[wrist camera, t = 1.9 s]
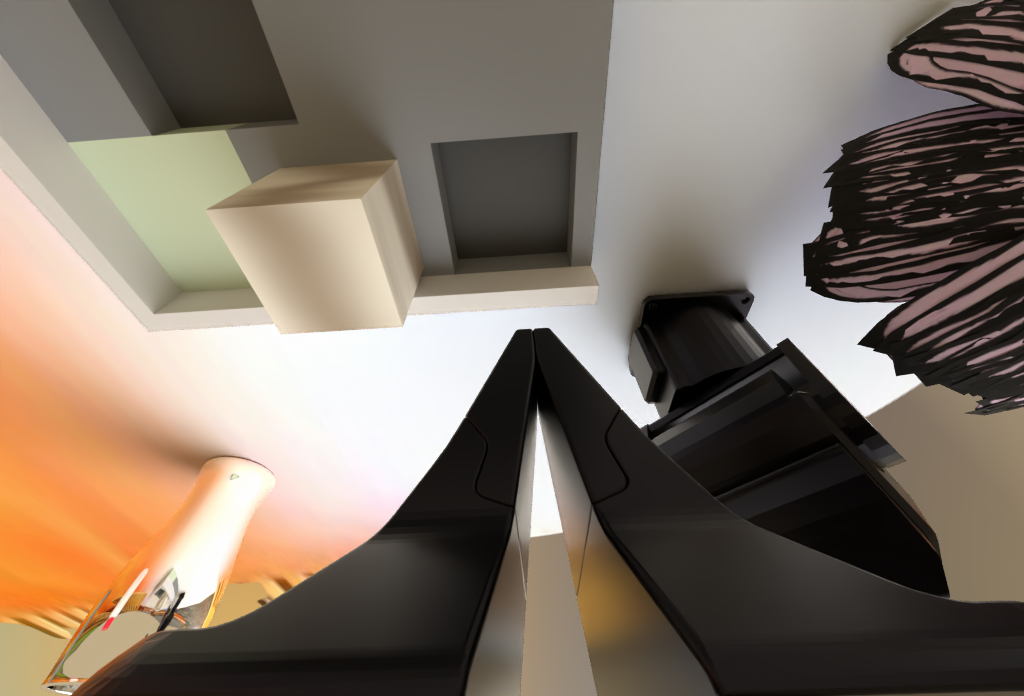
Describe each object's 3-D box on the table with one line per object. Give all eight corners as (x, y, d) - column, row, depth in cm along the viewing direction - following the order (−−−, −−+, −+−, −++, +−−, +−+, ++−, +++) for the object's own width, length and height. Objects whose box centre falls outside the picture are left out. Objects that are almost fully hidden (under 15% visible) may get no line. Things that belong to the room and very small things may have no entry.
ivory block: (397, 159, 15) (360, 198, 11) (424, 267, 18) (402, 326, 14) (280, 168, 15) (205, 209, 11) (327, 274, 18) (280, 334, 15)
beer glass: (264, 453, 32) (130, 682, 20) (291, 493, 36) (194, 699, 25) (183, 452, 32) (0, 684, 20) (220, 492, 36) (88, 700, 25)
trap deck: (619, -249, 10) (668, -375, 7) (583, 265, 21) (597, 303, 17) (-132, -169, 11) (-381, -252, 8) (199, 290, 21) (148, 331, 18)
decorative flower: (2036, 9, 7) (1205, 533, 12) (1123, 146, 18) (888, 387, 23) (1454, -412, 6) (826, 328, 11) (878, 0, 17) (689, 280, 22)
